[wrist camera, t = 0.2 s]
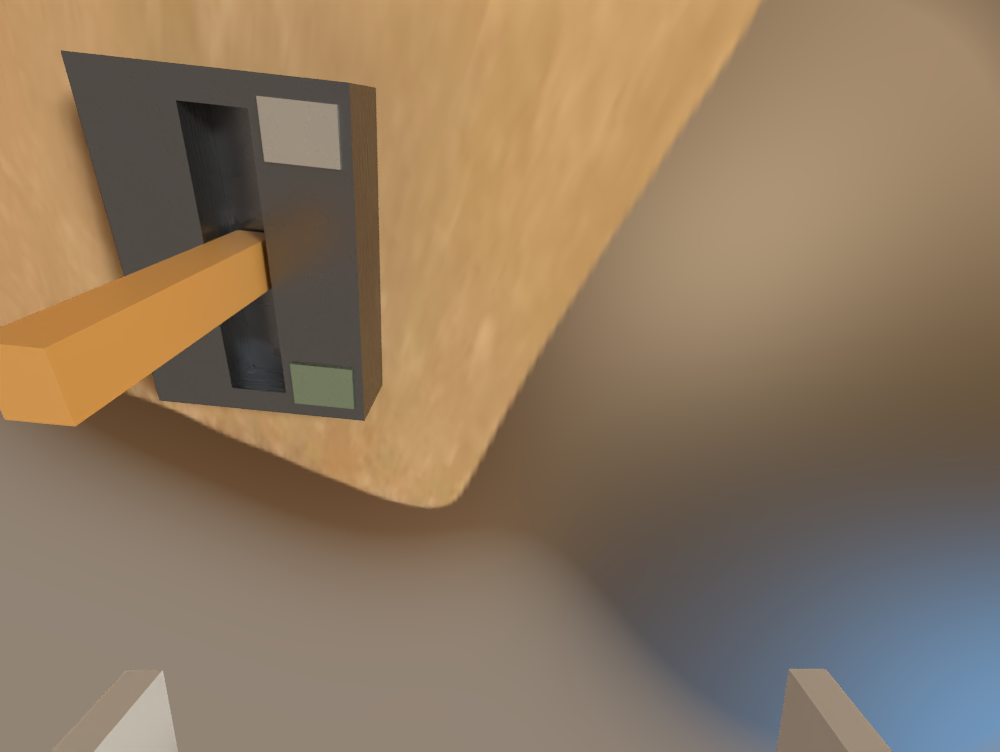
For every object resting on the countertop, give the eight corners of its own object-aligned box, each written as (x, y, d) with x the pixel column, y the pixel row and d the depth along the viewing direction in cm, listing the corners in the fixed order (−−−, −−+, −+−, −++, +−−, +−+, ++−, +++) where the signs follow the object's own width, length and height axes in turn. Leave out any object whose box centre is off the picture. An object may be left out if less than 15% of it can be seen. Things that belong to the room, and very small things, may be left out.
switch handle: (237, 229, 30) (-33, 340, 15) (276, 234, 30) (44, 348, 15) (245, 276, 31) (5, 419, 17) (282, 280, 31) (75, 426, 17)
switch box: (132, 60, 28) (56, 50, 23) (375, 87, 28) (347, 82, 23) (201, 366, 37) (157, 401, 33) (382, 384, 38) (363, 422, 33)
